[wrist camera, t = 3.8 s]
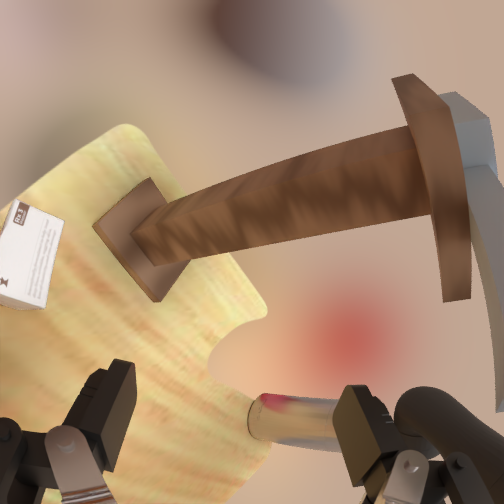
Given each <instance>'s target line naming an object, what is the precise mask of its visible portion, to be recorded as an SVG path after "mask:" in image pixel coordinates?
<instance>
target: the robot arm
mask: <svg viewBox="0 0 504 504" xmlns="http://www.w3.org/2000/svg"><path fill="white" fill-rule="evenodd" d="M136 400H137V385H136V372H135V364H134V363H133V362H128V361H124V360H120V359H114V360H113V361H112V363H111V365H110V367H109V368H108V370H104V369H101V368H99V369H98V370H97V371H95V372H94V373H92V374H91V375H90V376H89V378H88V379H87V381H86V383H85V384H84V387H83V388H82V390H81V391H80V395H78V397H77V398H76V400H75V402H74V404H73V405H72V407H71V409H70V411H69V413H68V414H67V416H66V418H65V420H64V422H63V423H62V425H61V426H56V427H54V428H52V429H51V430H50V431H48V433H37V432H30V431H23V430H21V428H20V427H19V425H18V424H17V423H16V422H15V421H14V420H12V419H9V418H4V417H2V418H0V504H41V501H42V498H43V495H44V492H45V489H46V488H51V489H59V490H60V493H61V495H62V504H117V502H116V501H115V499H114V497H113V495H112V493H111V492H110V490H109V488H108V487H107V485H106V483H105V481H104V479H103V477H102V474H103V471H104V470H106V471H109V472H113V471H114V468H115V465H116V462H117V458H118V455H119V452H120V449H121V446H122V443H123V440H124V437H125V434H126V431H127V428H128V425H129V422H130V420H131V417H132V414H133V411H134V408H135V405H136ZM248 425H249V431H250V433H251V435H252V436H253V437H254V438H256V439H260V440H264V441H269V442H274V443H279V444H284V445H289V446H296V447H301V448H307V449H314V450H322V451H331V452H339V453H342V454H343V457H344V460H345V463H346V466H347V470H348V472H349V476H350V479H351V482H352V485H353V487H358V486H364V487H365V490H366V492H365V493H364V495H363V497H362V499H361V501H360V503H359V504H446V503H445V501H444V498H446V497H447V496H449V498H450V500H451V502H452V504H504V437H503V436H502V435H500V434H499V433H497V432H496V431H494V430H493V429H491V428H490V427H488V426H487V425H486V424H484V423H483V422H482V421H480V420H479V419H478V418H476V417H475V416H474V415H473V414H472V413H471V412H470V411H468V410H467V409H466V408H465V407H464V406H463V405H462V404H460V403H459V402H458V401H457V400H456V399H454V398H453V397H452V396H451V395H449V394H448V393H446V392H444V391H442V390H440V389H437V388H433V387H425V386H422V387H416V388H412V389H410V390H408V391H406V392H405V393H404V394H403V395H402V396H401V397H400V398H399V400H398V402H397V404H396V407H395V412H394V422H393V419H392V417H391V416H389V412H388V410H387V408H386V406H385V405H384V403H382V402H381V401H380V400H379V399H378V398H377V397H376V396H374V397H373V396H372V395H371V393H370V391H369V389H368V387H367V386H366V385H347V386H346V387H345V389H344V391H343V393H342V395H341V397H340V399H321V398H308V397H296V396H285V395H277V394H268V393H264V394H261V395H260V396H259V397H258V398H257V399H256V400H255V401H254V403H253V405H252V407H251V410H250V413H249V419H248ZM439 454H441V456H442V457H443V459H444V461H428V460H429V459H431V458H434V457H436V456H437V455H439Z"/></svg>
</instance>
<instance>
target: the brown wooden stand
mask: <svg viewBox="0 0 504 504" xmlns="http://www.w3.org/2000/svg"><path fill="white" fill-rule="evenodd" d="M392 82H393V84H394V87H395V90H396V93H397V95H398V98H399V101H400V104H401V106H402V109H403V112H404V115H405V118H406V121H407V124H408V125H407V126H403V127H399V128H395V129H391V130H387V131H383V132H379V133H375V134H371V135H367V136H364V137H360V138H356V139H353V140H349V141H346V142H342V143H339V144H335V145H332V146H328V147H325V148H322V149H318V150H315V151H312V152H309V153H305V154H302V155H299V156H296V157H293V158H290V159H286V160H283V161H281V162H277V163H274V164H271V165H269V166H266V167H263V168H260V169H257V170H254V171H251V172H248V173H246V174H243V175H240V176H238V177H235V178H232V179H229V180H227V181H224V182H221V183H218V184H216V185H213V186H211V187H208V188H205V189H203V190H200V191H198V192H195V193H193V194H190V195H188V196H185V197H183V198H180V199H178V200H175V201H173V202H170V203H167V202H166V200H165V199H164V197H163V196H162V194H161V193H160V191H159V190H158V188H157V187H156V185H155V184H154V182H153V181H152V179H151V178H150V177H149V178H147V179H145V180H144V181H142V182H141V183H140V184H139V185H138V186H136V187H135V188H134V189H133V190H132V191H131V192H129V193H128V194H127V195H126V196H125V197H124V198H122V199H121V200H120V201H119V202H118V203H117V204H116V205H115V206H113V207H112V208H111V209H110V210H109V211H108V212H107V213H106V214H105V215H104V216H102V217H101V218H100V219H99V220H98V221H97V222H96V223H95V224H94V225H93V226H92V227H93V228H94V230H95V231H96V232H97V234H98V235H99V236H100V238H101V239H102V240H103V242H104V243H105V244H106V245H107V247H108V248H109V249H110V251H111V252H112V253H113V254H114V256H115V257H116V258H117V259H118V261H119V262H120V263H121V264H122V266H123V267H124V268H125V269H126V271H127V272H128V273H129V274H130V275H131V277H132V278H133V279H134V280H135V281H136V283H137V284H138V285H139V286H140V287H141V288H142V290H143V291H144V292H145V293H146V294H147V295H148V297H149V298H150V299H151V300H152V301H153V302H161V301H162V300H163V298H164V297H165V295H166V294H167V293H168V291H169V290H170V288H171V287H172V285H173V284H174V283H175V281H176V280H177V278H178V277H179V276H180V274H181V273H182V271H183V270H184V269H185V267H186V266H187V264H188V263H189V262H190V260H191V259H196V258H201V257H207V256H212V255H217V254H222V253H227V252H233V251H238V250H243V249H248V248H253V247H259V246H264V245H269V244H274V243H279V242H285V241H290V240H296V239H301V238H306V237H311V236H317V235H322V234H327V233H332V232H337V231H343V230H348V229H354V228H359V227H365V226H370V225H375V224H381V223H386V222H391V221H396V220H402V219H408V218H413V217H418V216H424V215H429V214H430V215H431V219H432V224H433V230H434V236H435V241H436V247H437V253H438V261H439V268H440V277H441V286H442V296H443V302H451V301H458V300H465V299H471V271H472V270H471V267H472V266H471V233H470V219H469V208H468V199H467V191H466V183H465V176H464V170H463V164H462V159H461V153H460V148H459V144H458V139H457V134H456V130H455V126H454V122H453V118H452V114H451V111H450V107H449V106H448V105H447V104H446V103H445V102H444V101H443V100H442V99H441V98H440V97H439V96H438V95H437V94H436V93H435V92H434V91H433V90H431V89H430V88H429V87H428V86H427V85H426V84H425V83H424V82H422V81H421V80H420V79H419V78H418V77H417V76H416V75H414V74H408V75H404V76H400V77H396V78H392Z"/></svg>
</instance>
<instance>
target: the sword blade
mask: <svg viewBox="0 0 504 504" xmlns="http://www.w3.org/2000/svg"><path fill="white" fill-rule="evenodd" d="M438 96H439V97H440V98H441V99H442V100H443V101H444V102H445V103H446V104H447V105H448V106H449V107H450V111H451V114H452V118H453V122H454V126H455V130H456V134H457V139H458V144H459V148H460V153H461V159H462V164H463V170H464V176H465V183H466V191H467V199H468V208H469V219H470V233H471V242H472V245H473V248H474V252H475V256H476V260H477V263H478V267H479V271H480V276H481V279H482V284H483V289H484V294H485V299H486V304H487V310H488V316H489V322H490V329H491V337H492V346H493V355H494V368H495V387H496V388H495V390H496V413H498V412H503V411H504V188H503V186H502V184H501V183H500V181H499V180H498V176H497V175H498V174H497V165H496V156H495V149H494V142H493V137H492V130H491V125H490V120H489V117H487V116H486V115H485V114H483V112H481V111H480V110H479V109H478V108H476V107H475V106H474V105H473V104H471V103H470V102H469V101H468V100H466V99H465V98H464V97H462V96H461V95H460V94H458V93H457V92H450V93H445V94H440V95H438Z"/></svg>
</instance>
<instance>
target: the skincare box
mask: <svg viewBox="0 0 504 504" xmlns="http://www.w3.org/2000/svg"><path fill="white" fill-rule="evenodd" d="M64 222H65V221H64V220H62V219H60V218H58V217H55V216H53V215H51V214H48V213H46V212H44V211H42V210H39V209H37V208H35V207H33V206H31V205H28V204H26V203H24V202H22V201H20V200H18V199H14V200H13V202H12V204H11V206H10V209H9V211H8V214H7V217H6V219H5V222H4V225H3V228H2V231H1V233H0V304H1V305H3V306H6V307H10V308H13V309H16V310H36V309H45V308H46V303H47V297H48V291H49V285H50V280H51V275H52V270H53V266H54V261H55V257H56V253H57V248H58V244H59V240H60V237H61V233H62V229H63V225H64Z"/></svg>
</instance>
